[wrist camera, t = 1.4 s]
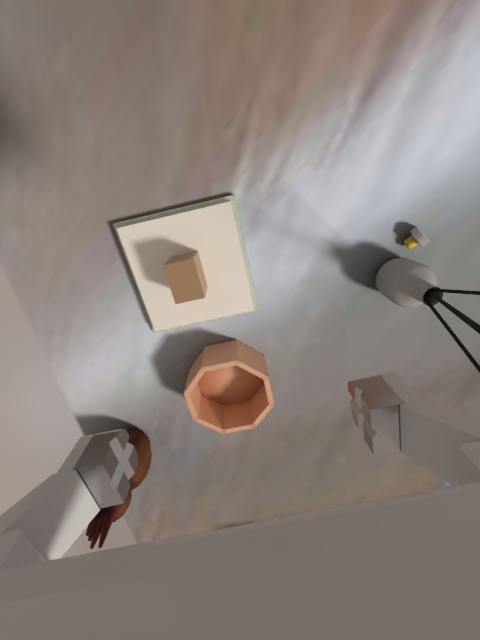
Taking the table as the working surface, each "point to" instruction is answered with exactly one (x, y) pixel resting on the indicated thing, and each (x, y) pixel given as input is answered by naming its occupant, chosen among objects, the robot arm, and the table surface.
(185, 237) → the lid
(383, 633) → the robot arm
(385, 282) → the reed diffuser
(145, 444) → the wooden figurine
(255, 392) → the bowl
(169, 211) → the mat
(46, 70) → the table surface
